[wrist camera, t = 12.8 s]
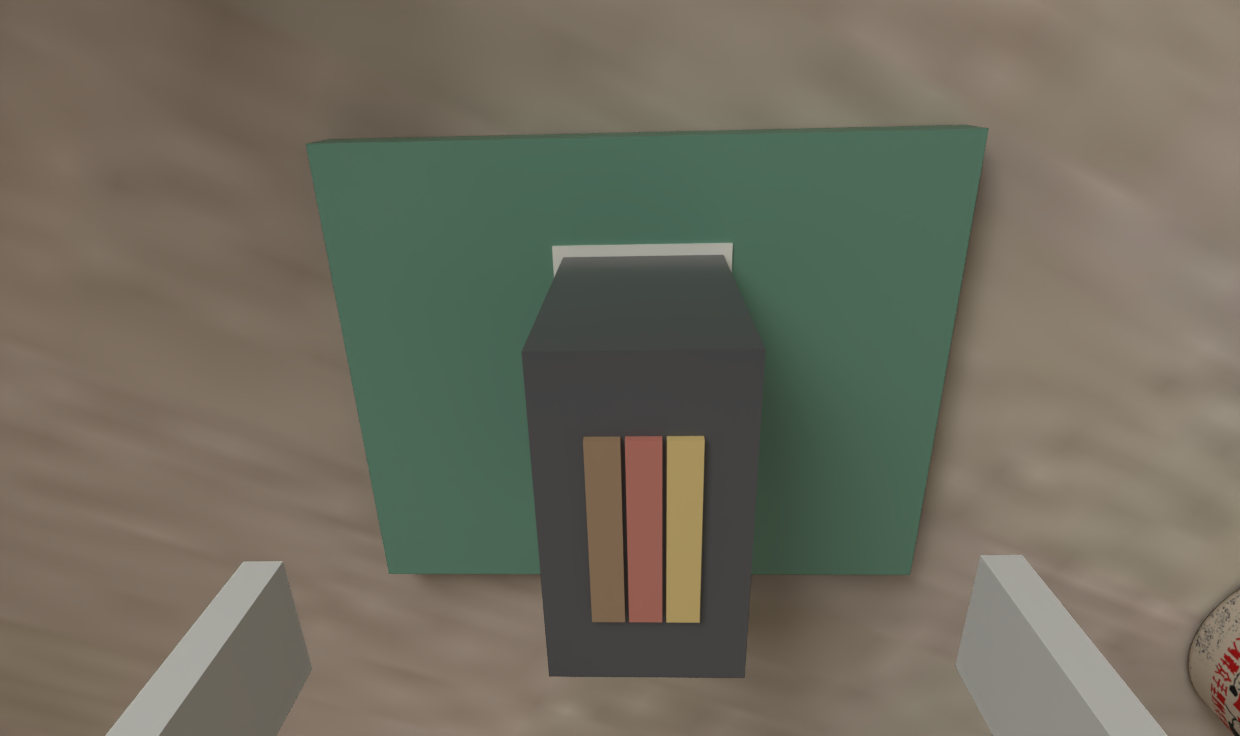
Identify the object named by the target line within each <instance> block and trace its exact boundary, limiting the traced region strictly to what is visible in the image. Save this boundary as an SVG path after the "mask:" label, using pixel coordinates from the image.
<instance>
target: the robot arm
mask: <svg viewBox="0 0 1240 736" xmlns="http://www.w3.org/2000/svg"><path fill="white" fill-rule="evenodd" d="M955 667H956V668H957V670H958V672H959V674H960V676H961V678H962V679H963V681H964V683H965V685H966V687H967V689H968V690H969V692H970V694H971V696H972V698H973V700H974V702H975V703H976V705H977V707H978V709H979V711H980V713H981V714H982V716H983V718H984V720H985V722H986V724H987V726H988V727H989V729H990V731H991V733H992V735H993V736H1167V734H1166V733H1165V732H1164V731H1163V729H1162V728H1161V727H1160V726H1159V724H1158V723H1157V722H1156V721H1155V719H1154V718H1153V717H1152V716H1151V714H1150V713H1149V712H1148V711H1147V709H1146V708H1145V707H1144V706H1143V705H1142V703H1141V702H1140V701H1139V700H1138V698H1137V697H1136V696H1135V695H1134V693H1133V692H1132V691H1131V690H1130V688H1129V687H1128V686H1127V685H1126V683H1125V682H1124V681H1123V680H1122V678H1121V677H1120V676H1119V675H1118V673H1117V672H1116V671H1115V670H1114V669H1113V667H1112V666H1111V665H1110V664H1109V662H1108V661H1107V660H1106V659H1105V657H1104V656H1103V655H1102V654H1101V652H1100V651H1099V650H1098V649H1097V647H1096V646H1095V645H1094V644H1093V642H1092V641H1091V640H1090V639H1089V637H1088V636H1087V635H1086V634H1085V632H1084V631H1083V630H1082V629H1081V628H1080V626H1079V625H1078V624H1077V623H1076V621H1075V620H1074V619H1073V618H1072V616H1071V615H1070V614H1069V613H1068V611H1067V610H1066V609H1065V608H1064V606H1063V605H1062V604H1061V603H1060V601H1059V600H1058V599H1057V598H1056V596H1055V595H1054V594H1053V593H1052V591H1051V590H1050V589H1049V588H1048V587H1047V585H1046V584H1045V583H1044V582H1043V580H1042V579H1041V578H1040V577H1039V575H1038V574H1037V573H1036V572H1035V570H1034V569H1033V568H1032V567H1031V565H1030V564H1029V563H1028V562H1027V560H1026V559H1025V558H1024V557H1023V555H980V559H979V564H978V568H977V572H976V577H975V581H974V586H973V590H972V595H971V599H970V603H969V608H968V612H967V617H966V621H965V625H964V630H963V634H962V639H961V643H960V648H959V652H958V656H957V661H956V665H955ZM311 670H312V667H311V663H310V659H309V655H308V652H307V648H306V644H305V641H304V637H303V633H302V630H301V626H300V622H299V619H298V615H297V611H296V607H295V604H294V600H293V596H292V593H291V589H290V585H289V582H288V578H287V574H286V571H285V567H284V563H283V561H264V562H243V563H242V564H241V565H240V567H239V568H238V569H237V570H236V572H235V573H234V574H233V575H232V577H231V578H230V579H229V580H228V582H227V583H226V584H225V586H224V587H223V588H222V589H221V591H220V592H219V593H218V594H217V596H216V597H215V598H214V599H213V601H212V602H211V603H210V604H209V606H208V607H207V608H206V609H205V611H204V612H203V613H202V614H201V616H200V617H199V618H198V620H197V621H196V622H195V623H194V625H193V626H192V627H191V628H190V630H189V631H188V632H187V633H186V635H185V636H184V637H183V638H182V640H181V641H180V642H179V643H178V645H177V646H176V647H175V648H174V650H173V651H172V652H171V654H170V655H169V656H168V657H167V659H166V660H165V661H164V662H163V664H162V665H161V666H160V667H159V669H158V670H157V671H156V672H155V674H154V675H153V676H152V677H151V679H150V680H149V681H148V683H147V684H146V685H145V686H144V688H143V689H142V690H141V691H140V693H139V694H138V695H137V696H136V698H135V699H134V700H133V701H132V703H131V704H130V705H129V706H128V708H127V709H126V710H125V711H124V713H123V714H122V715H121V717H120V718H119V719H118V720H117V722H116V723H115V724H114V725H113V727H112V728H111V729H110V730H109V732H108V733H107V734H106V735H105V736H277V734H278V732H279V730H280V728H281V726H282V724H283V722H284V721H285V719H286V717H287V715H288V713H289V711H290V709H291V708H292V706H293V704H294V702H295V700H296V698H297V696H298V695H299V693H300V691H301V689H302V687H303V685H304V683H305V681H306V680H307V678H308V676H309V674H310V672H311Z"/></svg>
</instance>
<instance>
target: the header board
mask: <svg viewBox="0 0 1240 736" xmlns="http://www.w3.org/2000/svg"><path fill="white" fill-rule="evenodd" d="M988 129H989V128H983V127H977V126H970V125H938V126H895V127H851V128H807V129H764V130H720V131H677V132H633V133H590V134H546V135H503V136H459V137H416V138H372V139H328V140H322V141H317V142H312V143H308V144H306V147H307V152H308V158H309V163H310V168H311V173H312V178H313V183H314V189H315V194H316V199H317V204H318V209H319V214H320V220H321V225H322V230H323V235H324V240H325V245H326V251H327V256H328V261H329V266H330V271H331V276H332V282H333V287H334V292H335V297H336V302H337V307H338V313H339V318H340V323H341V328H342V333H343V338H344V344H345V349H346V354H347V359H348V364H349V369H350V374H351V380H352V385H353V390H354V395H355V400H356V405H357V411H358V416H359V421H360V426H361V431H362V436H363V442H364V447H365V452H366V457H367V462H368V467H369V473H370V478H371V483H372V488H373V493H374V498H375V504H376V509H377V514H378V519H379V524H380V529H381V535H382V540H383V545H384V550H385V555H386V560H387V566H388V571H389V574H540V563H539V551H538V540H537V528H536V516H535V504H534V493H533V481H532V469H531V458H530V446H529V434H528V423H527V411H526V399H525V388H524V376H523V364H522V353H521V351H522V349H523V347H524V345H525V342H526V340H527V338H528V336H529V333H530V331H531V329H532V327H533V324H534V322H535V320H536V317H537V315H538V313H539V311H540V308H541V306H542V304H543V302H544V299H545V297H546V295H547V293H548V290H549V288H550V286H551V284H552V281H553V279H554V277H555V275H556V272H557V270H558V268H559V265H560V263H561V261H562V259H563V257H609V256H674V255H724V257H725V259H726V261H727V264H728V266H729V268H730V270H731V273H732V275H733V277H734V279H735V282H736V284H737V286H738V288H739V291H740V293H741V295H742V297H743V300H744V302H745V304H746V306H747V309H748V311H749V313H750V315H751V318H752V320H753V322H754V324H755V327H756V329H757V331H758V333H759V336H760V338H761V340H762V342H763V345H764V347H765V349H766V350H765V365H764V381H763V397H762V412H761V428H760V444H759V459H758V475H757V491H756V506H755V522H754V538H753V554H752V569H751V574H767V575H910V572H911V567H912V561H913V555H914V550H915V544H916V538H917V533H918V527H919V521H920V515H921V510H922V504H923V498H924V493H925V487H926V481H927V476H928V470H929V464H930V459H931V453H932V447H933V442H934V436H935V430H936V424H937V419H938V413H939V407H940V402H941V396H942V390H943V385H944V379H945V373H946V368H947V362H948V356H949V351H950V345H951V339H952V333H953V328H954V322H955V316H956V311H957V305H958V299H959V294H960V288H961V282H962V277H963V271H964V265H965V259H966V254H967V248H968V242H969V237H970V231H971V225H972V220H973V214H974V208H975V203H976V197H977V191H978V186H979V180H980V174H981V168H982V163H983V157H984V151H985V146H986V140H987V134H988Z"/></svg>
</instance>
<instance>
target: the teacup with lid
mask: <svg viewBox="0 0 1240 736" xmlns="http://www.w3.org/2000/svg"><path fill="white" fill-rule="evenodd" d="M1188 665H1189V674H1190V678H1191V681H1192V684H1193V686H1194V688H1195V690H1196V691H1197V693H1198V694H1199V696H1200V697H1201V698H1202V700H1203V701H1204V702H1205V703H1206V704H1207V705H1208V706H1209V707H1210V709H1211V710H1212V711H1213V712H1214V713H1215V714H1216V715H1217V716H1218V718H1219V719H1220V720H1221V721H1222V722H1223V723H1224V724H1225V725H1226V726H1227V728H1228V729H1229V730H1230V731H1231V732H1232V733H1233V734H1234V735H1235V736H1240V589H1239V590H1237V591H1236V592H1234V593H1233V594H1232V595H1230V596H1229V597H1228V598H1226V599H1225V600H1224V601H1223V602H1222V603H1221V604H1220V605H1218V606H1217V607H1216V608H1215V609H1214V610H1213V611H1212V613H1211V614H1210V615H1209V616H1208V617H1207V618H1206V620H1205V621H1204V622H1203V624H1202V625H1201V627H1200V628H1199V630H1198V632H1197V633H1196V635H1195V638H1194V640H1193V642H1192V645H1191V648H1190V653H1189V664H1188Z"/></svg>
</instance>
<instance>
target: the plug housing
mask: <svg viewBox="0 0 1240 736" xmlns="http://www.w3.org/2000/svg"><path fill="white" fill-rule="evenodd" d="M765 350H766V349H765V347H764V345H763V342H762V340H761V338H760V336H759V333H758V331H757V329H756V327H755V324H754V322H753V320H752V318H751V315H750V313H749V311H748V309H747V306H746V304H745V302H744V300H743V297H742V295H741V293H740V291H739V288H738V286H737V284H736V282H735V279H734V277H733V275H732V273H731V270H730V268H729V266H728V264H727V261H726V259H725V257H724V255H674V256H609V257H563V259H562V261H561V263H560V265H559V268H558V270H557V272H556V275H555V277H554V279H553V281H552V284H551V286H550V288H549V290H548V293H547V295H546V297H545V299H544V302H543V304H542V306H541V308H540V311H539V313H538V315H537V317H536V320H535V322H534V324H533V327H532V329H531V331H530V333H529V336H528V338H527V340H526V342H525V345H524V347H523V349H522V351H521V353H522V364H523V376H524V388H525V399H526V411H527V423H528V434H529V446H530V458H531V469H532V481H533V493H534V504H535V516H536V528H537V540H538V551H539V563H540V575H541V586H542V598H543V610H544V621H545V633H546V645H547V656H548V668H549V676H562V677H688V678H745V663H746V648H747V632H748V616H749V601H750V585H751V569H752V554H753V538H754V522H755V506H756V491H757V475H758V459H759V444H760V428H761V412H762V397H763V381H764V365H765Z"/></svg>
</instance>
